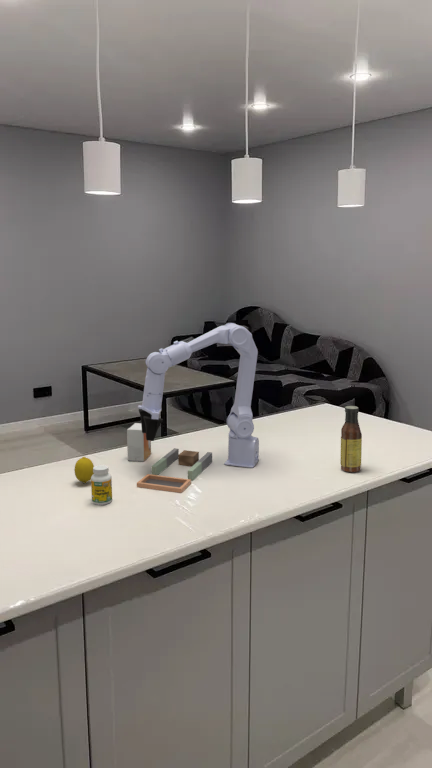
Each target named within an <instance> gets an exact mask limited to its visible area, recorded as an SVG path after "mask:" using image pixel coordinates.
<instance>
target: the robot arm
mask: <svg viewBox="0 0 432 768" xmlns="http://www.w3.org/2000/svg"><path fill="white" fill-rule="evenodd" d="M214 344H223V345H229V346H232V347H233V348H234V349H235V350H236V351H237V353H238V354H239V355H240V357H239V363H238V372H237V379H236V387H235V388H236V389H235V395H234V401H233V402H234V403H233V405H232V407H231V409H230V411H229V412H230V413H229V415H228V416H227V418H226V425H227V427H228V429H229V431H228V442H227V443H228V452H227V453H228V455H227V459H226V461H224V463H223V465H225V466H233V467H243V468H252V469H253V468H255V466H256V464H258V462H259V461H260V457H259V456H260V455H259V454H260V451H259V450H260V440H259V437H257V436H253V435H252V434H253V433H254V430H255V424H254V421H253V418H254V416H253V411H252V407H251V406H252V399H253V391H254V384H255V383H254V382H255V377H256V369H257V361H258V354H259V351H258V350H259V349H258V348H257V346H256V343H255V341H254V338H253V334H252V333H251V332H250V331H249V330H248V329H247V328H246V327H245V326H242V325H239V324H236V323H235V322H227V323H226V324H224V325H220V326H218V327H215V328H213V329H212V330H209V331H208V332H206V333H204V334H202V335H200V336H198V337H196V338H194V339H192V340H190V341H188V342H186V341H183V340H180V341H178V340H175V341H173V344H171V345H169V346H167V347H165V348H163V347H161V348H159V349H158V351H159V352H158V351H154V352H151V353H150V354H148V356H147V357H146V359H145V365H146V367H147V368H146V371H145V372H146V374H145V379H144V388H143V395H142V403H141V404H139V405H137V409H138V413H139V416H140V423H141V426H142V433H146V440H150V441H151V442H152V441H153V442H154V441H155V438H156V435H157V433H158V430H159V428H160V426H161V425H162V423H163V421H164V419H163V418H159V416H160V413H161V412H162V404H163V403H162V402H163V395H164V387H165V381H166V379H165V377H166V372H167V371H168V370H169V368H171V367H174V366H176V365H178V364H180V363H182V362H184V361H187V360H189V359H190V358H191V356H192V354H193V353H195V352H197V351H199V350H201V349H206V348H207V347H209V346H211V345H214Z"/></svg>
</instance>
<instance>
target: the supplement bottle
mask: <svg viewBox="0 0 432 768" xmlns="http://www.w3.org/2000/svg"><path fill="white" fill-rule="evenodd" d="M109 471H110V470H109V466H108V465H106V464H98V465H94V467H93V473H94V474H93V475H92V476H91V480H90V485H91V489H90V491H91V502H92V503H93V504H94V505H97V506H104V505H109V504H110V503H111V502H112V501H113V487H112V486H113V483H112V482H113V481H112V480H113V479H112V475H111V474H110V473H109Z"/></svg>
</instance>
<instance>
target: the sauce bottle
mask: <svg viewBox="0 0 432 768" xmlns="http://www.w3.org/2000/svg"><path fill="white" fill-rule="evenodd" d="M359 410H360V409H359V407H358V406H356V405H347V406H344V411H345V415H344V417H345V418H344V424H343V425H342V427H341V433H340V435H341V436H340V469H341V471H343V472H346V473H359V472H360V471H361V467H362V449H363V448H362V443H363V440H362V438H363V437H362V436H363V435H362V431H361V428H360V423H359Z"/></svg>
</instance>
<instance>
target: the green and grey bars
mask: <svg viewBox="0 0 432 768" xmlns="http://www.w3.org/2000/svg"><path fill="white" fill-rule="evenodd" d="M179 452H180V451H179V448H173V449H171V450H170V451H168V453H166V454H165V455H164V456H162V457H161V458H160V459H158V460H157V461H156V462H155V463H153V464H152V465H151V467H150V469H151V474H152V475H159V474H161V473H163V471H165V470H166V469H167V468H168V467H170V466H171V465H172V464H173V463H174V462H175V461H176V460H178V455H179V454H180V453H179ZM212 462H213V452H209V451H207V452H206V453H205V454H204V455H203V456H202V457H201V458H199V461H198V462H196V463H195V464H194V465H193V466H192V467H190V468H189V469H187V479H191V482H194V480H195V479H196V478H197V477H198V476H199V475H200V474H201V473H202V472H203V471H204V470H205V469H206V468H207V467H208V466H210V464H211V463H212Z"/></svg>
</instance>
